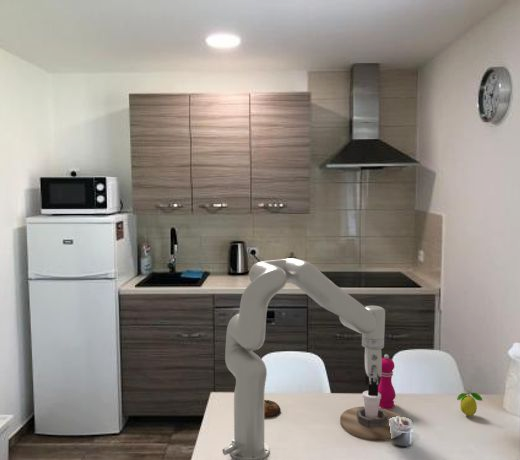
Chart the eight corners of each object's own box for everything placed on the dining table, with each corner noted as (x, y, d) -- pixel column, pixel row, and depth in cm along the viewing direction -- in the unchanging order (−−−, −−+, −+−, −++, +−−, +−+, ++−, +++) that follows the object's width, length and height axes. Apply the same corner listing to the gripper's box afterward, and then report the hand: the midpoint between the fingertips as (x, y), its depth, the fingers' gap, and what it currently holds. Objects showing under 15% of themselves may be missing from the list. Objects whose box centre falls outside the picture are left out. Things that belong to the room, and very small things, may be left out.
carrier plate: (381, 447, 155) (382, 435, 155) (327, 424, 171) (327, 413, 171) (416, 424, 171) (416, 413, 170) (363, 405, 186) (363, 395, 186)
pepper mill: (375, 408, 184) (376, 356, 182) (376, 400, 191) (377, 350, 189) (395, 410, 182) (396, 358, 180) (395, 402, 189) (396, 352, 187)
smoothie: (379, 416, 173) (379, 378, 172) (382, 425, 167) (382, 385, 166) (361, 416, 174) (361, 378, 173) (363, 424, 168) (363, 385, 167)
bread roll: (279, 419, 175) (277, 405, 175) (249, 421, 177) (247, 407, 177) (282, 406, 186) (281, 394, 186) (254, 408, 188) (253, 396, 188)
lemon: (482, 418, 175) (483, 391, 174) (469, 421, 173) (470, 394, 172) (467, 410, 181) (468, 384, 181) (455, 413, 179) (456, 387, 178)
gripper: (387, 350, 159) (385, 400, 161) (380, 335, 177) (378, 381, 178) (364, 349, 160) (362, 399, 162) (359, 334, 177) (358, 379, 179)
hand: (371, 389), depth 170 cm, fingers open, 9 cm apart
